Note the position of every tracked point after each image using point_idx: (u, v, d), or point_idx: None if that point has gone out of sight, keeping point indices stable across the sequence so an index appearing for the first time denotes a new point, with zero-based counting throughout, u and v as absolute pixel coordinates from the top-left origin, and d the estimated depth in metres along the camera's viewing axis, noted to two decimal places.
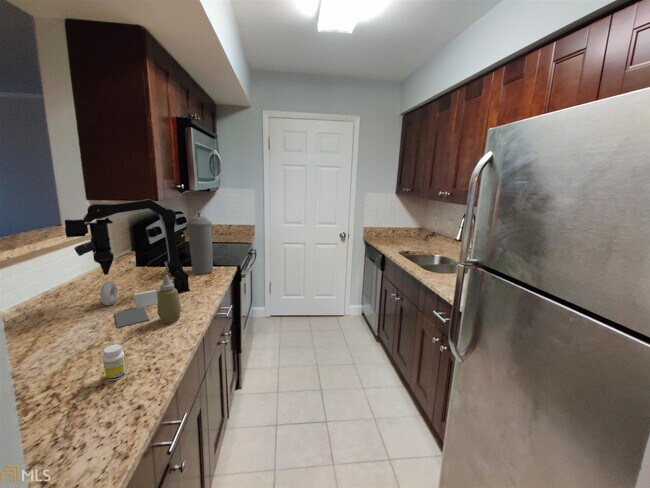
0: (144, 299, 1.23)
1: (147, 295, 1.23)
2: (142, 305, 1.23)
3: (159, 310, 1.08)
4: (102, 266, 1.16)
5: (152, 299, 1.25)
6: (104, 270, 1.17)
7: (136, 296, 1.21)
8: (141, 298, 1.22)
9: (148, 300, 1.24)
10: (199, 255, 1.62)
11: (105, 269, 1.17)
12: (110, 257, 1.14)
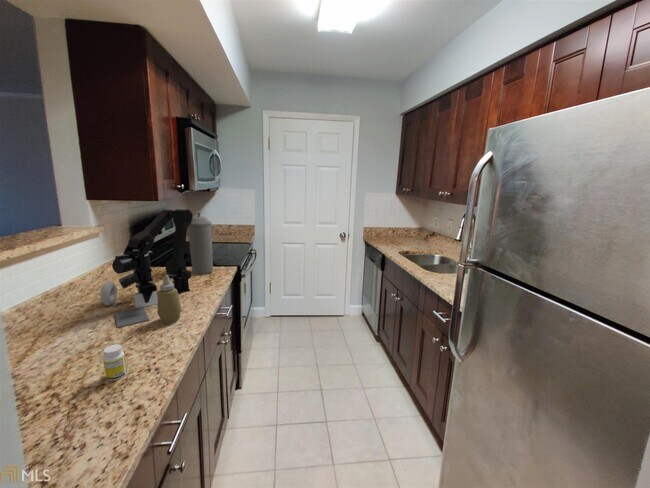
0: None
1: None
2: (142, 305, 1.23)
3: (159, 310, 1.08)
4: (144, 295, 1.21)
5: (152, 299, 1.25)
6: (145, 299, 1.22)
7: (136, 296, 1.21)
8: (141, 298, 1.22)
9: None
10: (199, 255, 1.62)
11: (146, 298, 1.22)
12: (154, 289, 1.17)
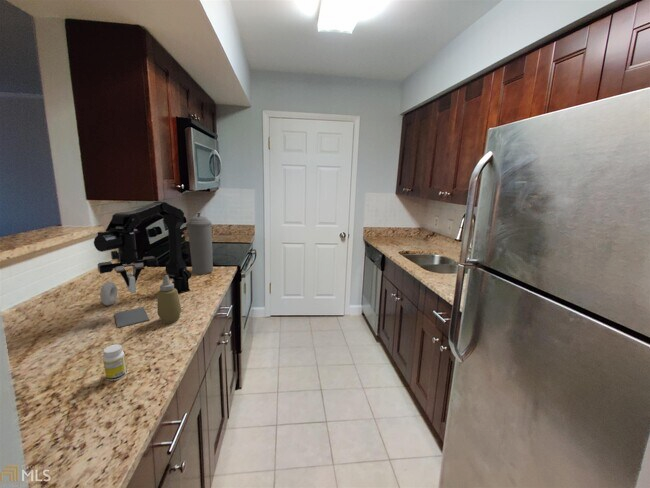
0: None
1: (128, 279, 1.13)
2: (127, 287, 1.15)
3: (159, 310, 1.08)
4: (122, 276, 1.12)
5: (129, 285, 1.12)
6: (125, 281, 1.13)
7: None
8: None
9: None
10: (199, 255, 1.62)
11: (125, 280, 1.13)
12: (99, 271, 1.05)
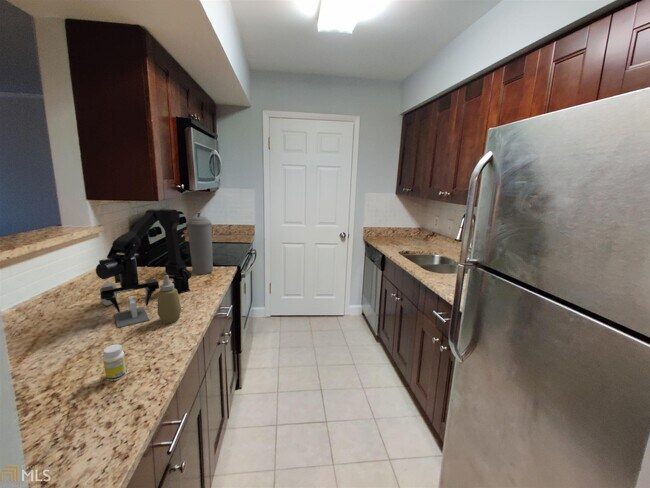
0: (130, 306, 1.15)
1: (129, 303, 1.14)
2: (130, 310, 1.16)
3: (159, 310, 1.08)
4: None
5: (131, 310, 1.13)
6: None
7: None
8: (129, 303, 1.16)
9: (130, 309, 1.14)
10: (199, 255, 1.62)
11: (116, 306, 1.12)
12: (101, 297, 1.06)
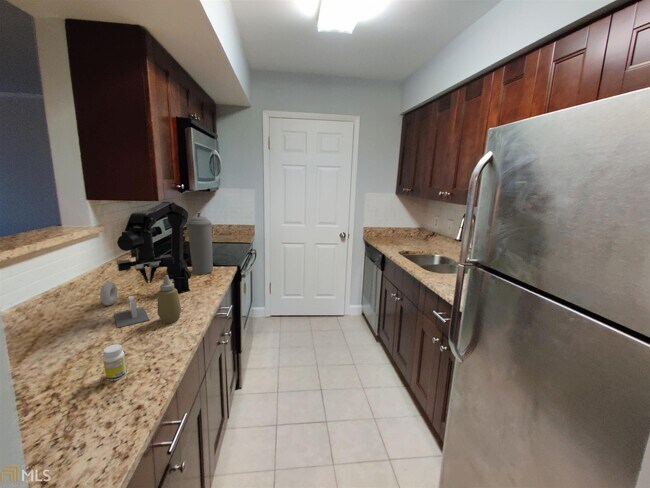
0: (130, 306, 1.15)
1: (129, 303, 1.14)
2: (130, 310, 1.16)
3: (159, 310, 1.08)
4: None
5: (131, 310, 1.13)
6: (144, 278, 1.16)
7: None
8: (129, 303, 1.16)
9: (130, 309, 1.14)
10: (199, 255, 1.62)
11: None
12: (118, 269, 1.08)
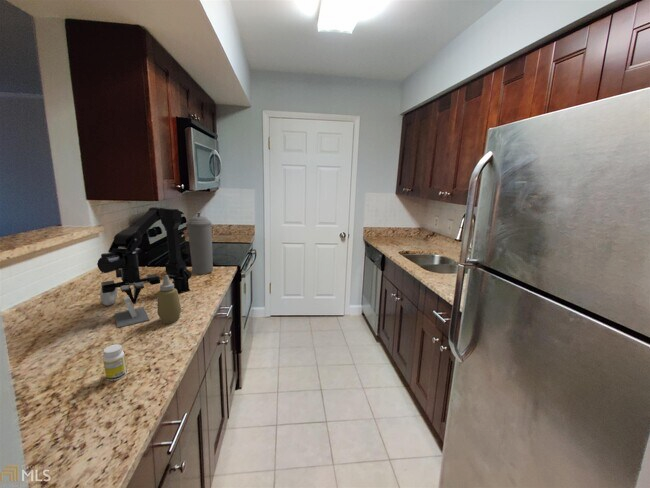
0: None
1: None
2: None
3: (159, 310, 1.08)
4: None
5: (129, 310, 1.13)
6: None
7: None
8: None
9: None
10: (199, 255, 1.62)
11: (130, 298, 1.14)
12: (102, 291, 1.06)
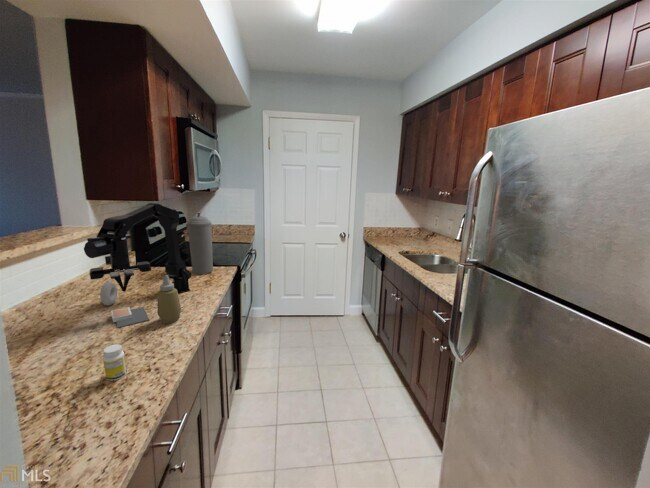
0: None
1: None
2: None
3: (159, 310, 1.08)
4: None
5: None
6: (120, 286, 1.11)
7: None
8: None
9: None
10: (199, 255, 1.62)
11: None
12: (90, 277, 1.03)
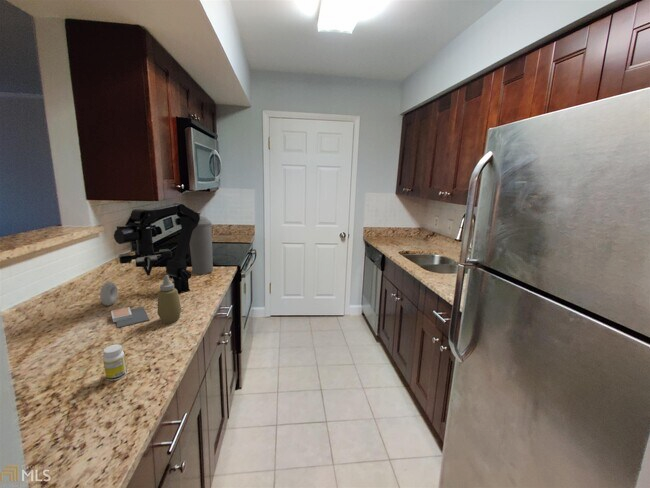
0: None
1: None
2: None
3: (159, 310, 1.08)
4: None
5: None
6: (145, 271, 1.24)
7: None
8: None
9: None
10: (199, 255, 1.62)
11: (145, 270, 1.24)
12: (120, 261, 1.16)
